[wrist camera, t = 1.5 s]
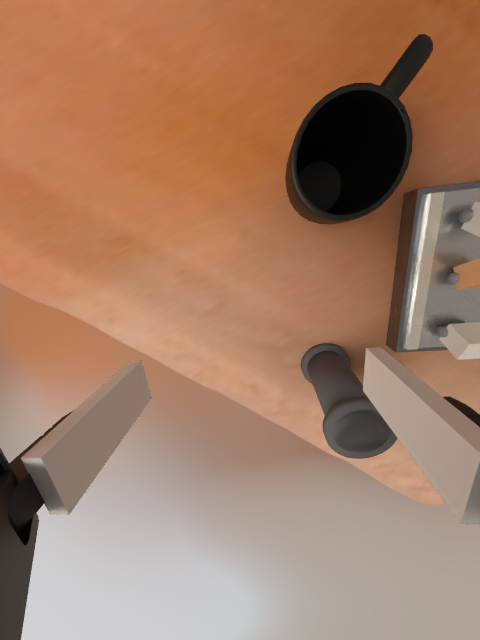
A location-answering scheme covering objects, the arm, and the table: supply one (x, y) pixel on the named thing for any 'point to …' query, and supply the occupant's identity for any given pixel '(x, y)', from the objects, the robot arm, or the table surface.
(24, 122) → the table surface
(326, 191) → the mug
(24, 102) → the table surface
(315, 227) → the table surface
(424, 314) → the breaker strip
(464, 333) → the paddle
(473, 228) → the paddle
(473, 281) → the paddle mid
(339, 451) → the dark grey flanged cylinder
